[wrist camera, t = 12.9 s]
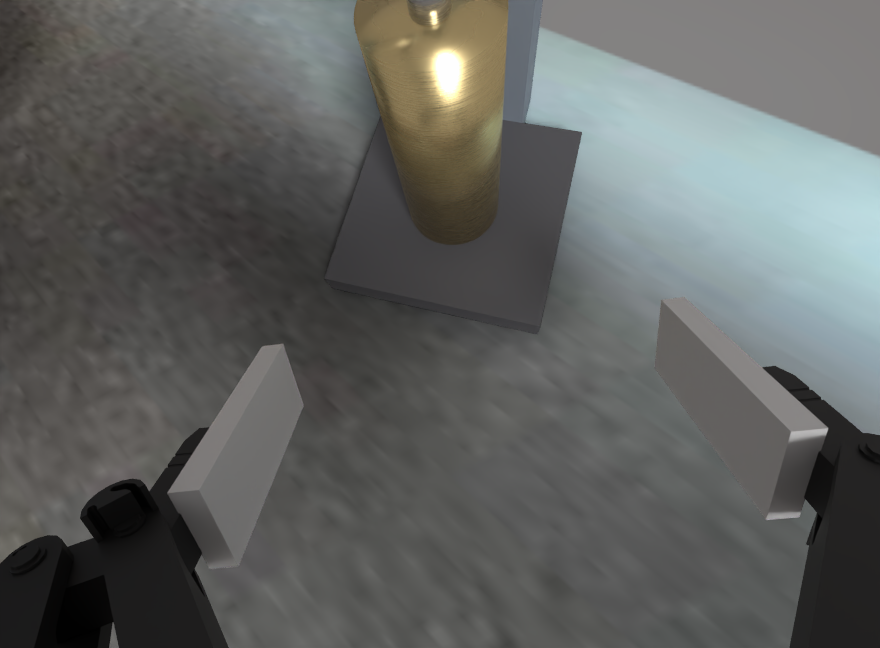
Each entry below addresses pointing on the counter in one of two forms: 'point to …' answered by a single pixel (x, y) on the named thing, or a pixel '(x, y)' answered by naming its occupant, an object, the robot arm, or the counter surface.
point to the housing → (440, 105)
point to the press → (496, 251)
